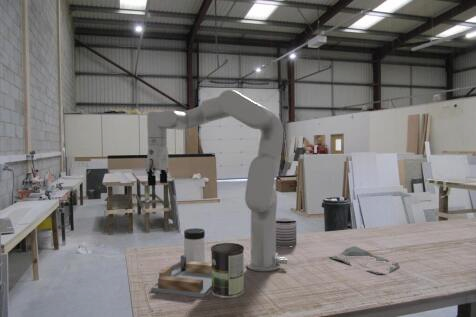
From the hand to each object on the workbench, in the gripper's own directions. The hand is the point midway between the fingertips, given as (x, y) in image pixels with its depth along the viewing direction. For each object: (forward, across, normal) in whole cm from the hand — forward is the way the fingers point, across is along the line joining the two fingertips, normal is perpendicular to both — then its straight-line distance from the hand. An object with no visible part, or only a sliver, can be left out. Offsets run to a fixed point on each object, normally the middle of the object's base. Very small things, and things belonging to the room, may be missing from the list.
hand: (157, 184), depth 148 cm
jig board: (+30, -21, -23) cm, 44 cm away
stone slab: (+31, +15, -81) cm, 88 cm away
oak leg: (+29, -14, -25) cm, 41 cm away
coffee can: (+30, -25, -38) cm, 55 cm away
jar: (+30, 0, -16) cm, 34 cm away
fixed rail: (+29, -30, -24) cm, 48 cm away
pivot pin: (+29, -15, -18) cm, 37 cm away
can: (+31, +33, -46) cm, 64 cm away
